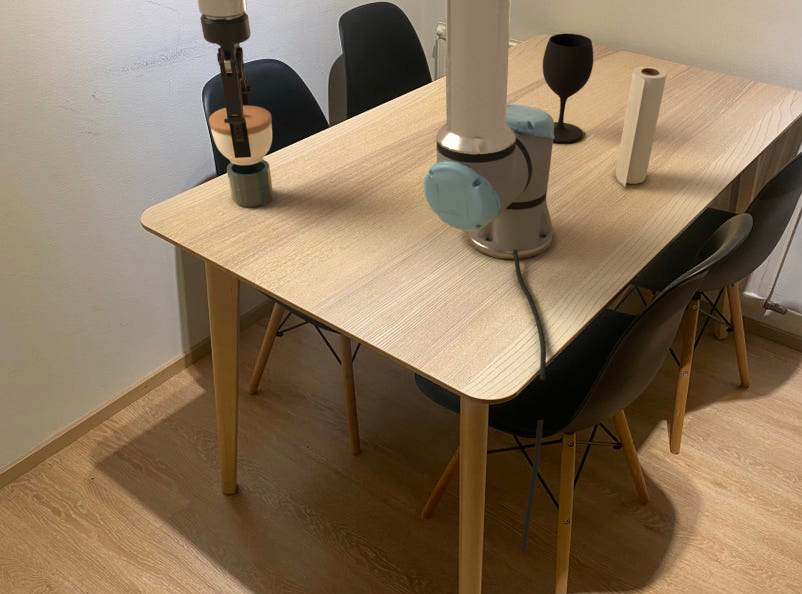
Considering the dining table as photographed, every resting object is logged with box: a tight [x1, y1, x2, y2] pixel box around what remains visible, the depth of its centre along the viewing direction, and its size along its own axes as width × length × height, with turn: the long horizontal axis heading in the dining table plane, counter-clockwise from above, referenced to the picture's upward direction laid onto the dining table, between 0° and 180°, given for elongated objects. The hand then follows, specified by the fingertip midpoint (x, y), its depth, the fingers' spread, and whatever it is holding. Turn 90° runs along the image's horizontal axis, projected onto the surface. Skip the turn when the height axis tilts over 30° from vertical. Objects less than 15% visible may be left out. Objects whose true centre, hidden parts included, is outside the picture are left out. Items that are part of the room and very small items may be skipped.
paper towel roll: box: [615, 66, 667, 188], centre depth 148 cm, size 7×6×21 cm
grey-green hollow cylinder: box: [226, 159, 274, 208], centre depth 143 cm, size 8×8×6 cm
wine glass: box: [542, 33, 594, 144], centre depth 164 cm, size 10×10×20 cm
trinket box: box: [208, 104, 273, 165], centre depth 137 cm, size 11×11×9 cm
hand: (244, 142), depth 138 cm, fingers closed on trinket box, 11 cm apart
